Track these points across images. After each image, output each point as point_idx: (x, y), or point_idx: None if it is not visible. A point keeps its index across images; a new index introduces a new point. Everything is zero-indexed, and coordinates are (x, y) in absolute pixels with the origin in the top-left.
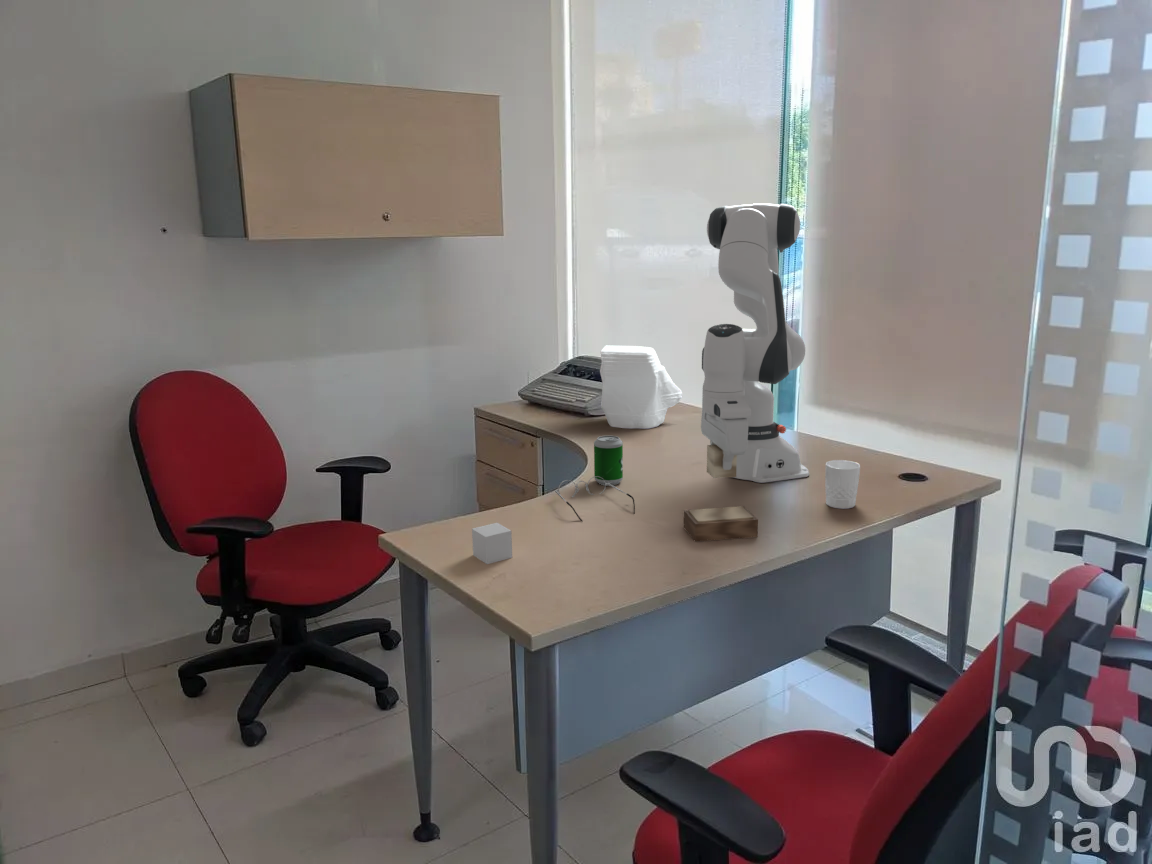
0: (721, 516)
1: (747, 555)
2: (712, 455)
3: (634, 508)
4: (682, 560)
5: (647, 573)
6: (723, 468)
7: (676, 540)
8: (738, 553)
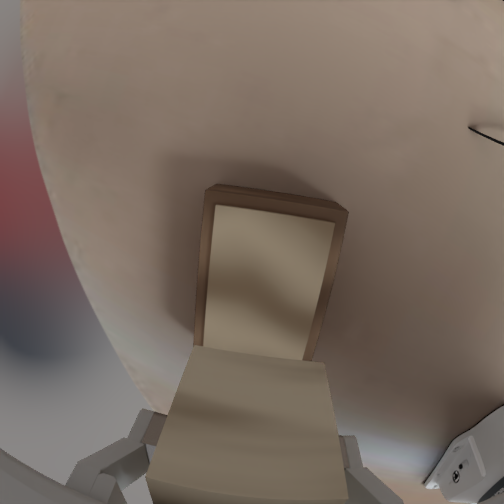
0: (234, 295)
1: (106, 267)
2: (202, 450)
3: (484, 135)
4: (114, 108)
5: (86, 25)
6: (144, 410)
7: (244, 137)
8: (119, 254)
